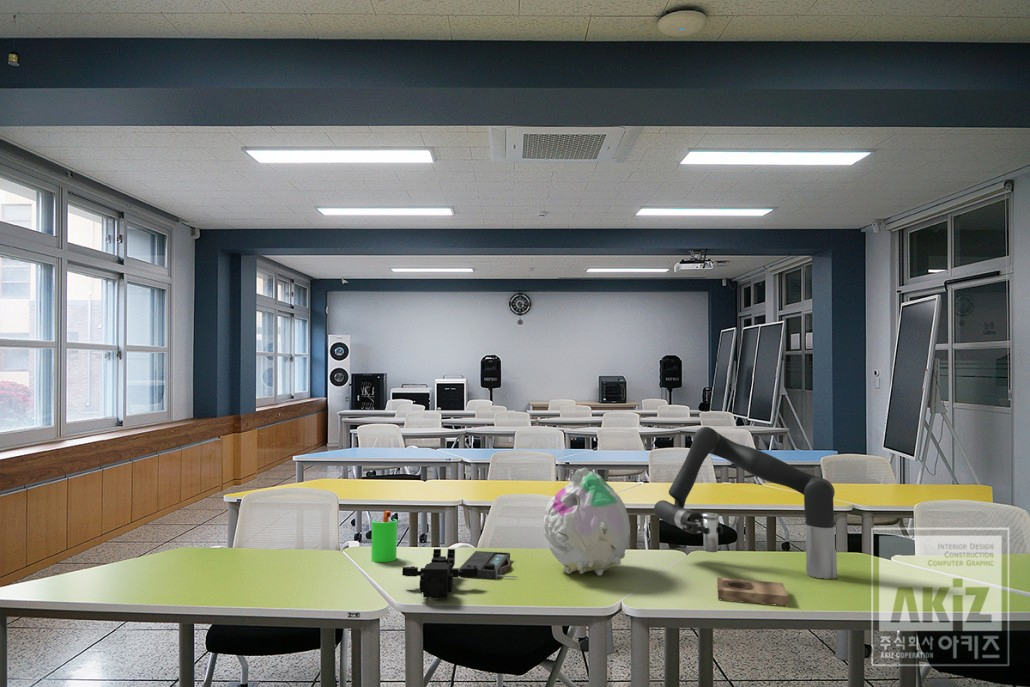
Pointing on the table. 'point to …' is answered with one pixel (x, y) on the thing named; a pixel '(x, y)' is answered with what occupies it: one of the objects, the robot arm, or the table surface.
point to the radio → (488, 564)
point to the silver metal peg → (711, 532)
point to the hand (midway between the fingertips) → (714, 530)
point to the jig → (752, 591)
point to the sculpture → (587, 524)
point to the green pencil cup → (384, 539)
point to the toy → (439, 575)
